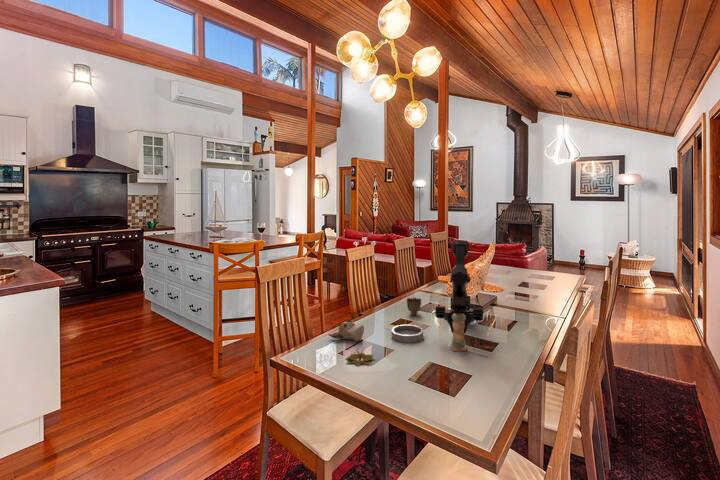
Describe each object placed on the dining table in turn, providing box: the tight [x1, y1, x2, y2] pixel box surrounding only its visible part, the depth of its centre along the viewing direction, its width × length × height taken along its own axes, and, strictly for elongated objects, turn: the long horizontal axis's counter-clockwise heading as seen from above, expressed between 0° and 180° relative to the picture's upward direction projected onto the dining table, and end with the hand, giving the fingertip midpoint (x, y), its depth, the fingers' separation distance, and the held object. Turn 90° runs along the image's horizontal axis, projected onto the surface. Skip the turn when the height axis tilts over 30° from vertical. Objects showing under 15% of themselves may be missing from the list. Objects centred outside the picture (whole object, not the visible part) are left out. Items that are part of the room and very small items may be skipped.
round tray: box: [390, 324, 424, 344], centre depth 166 cm, size 14×14×3 cm
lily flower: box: [345, 347, 375, 367], centre depth 144 cm, size 12×12×5 cm
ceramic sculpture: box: [328, 319, 365, 342], centre depth 165 cm, size 11×9×15 cm
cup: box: [406, 297, 422, 316], centre depth 196 cm, size 8×7×8 cm
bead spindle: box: [449, 313, 468, 353], centre depth 152 cm, size 6×6×14 cm
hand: (458, 332), depth 151 cm, fingers closed on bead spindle, 4 cm apart
